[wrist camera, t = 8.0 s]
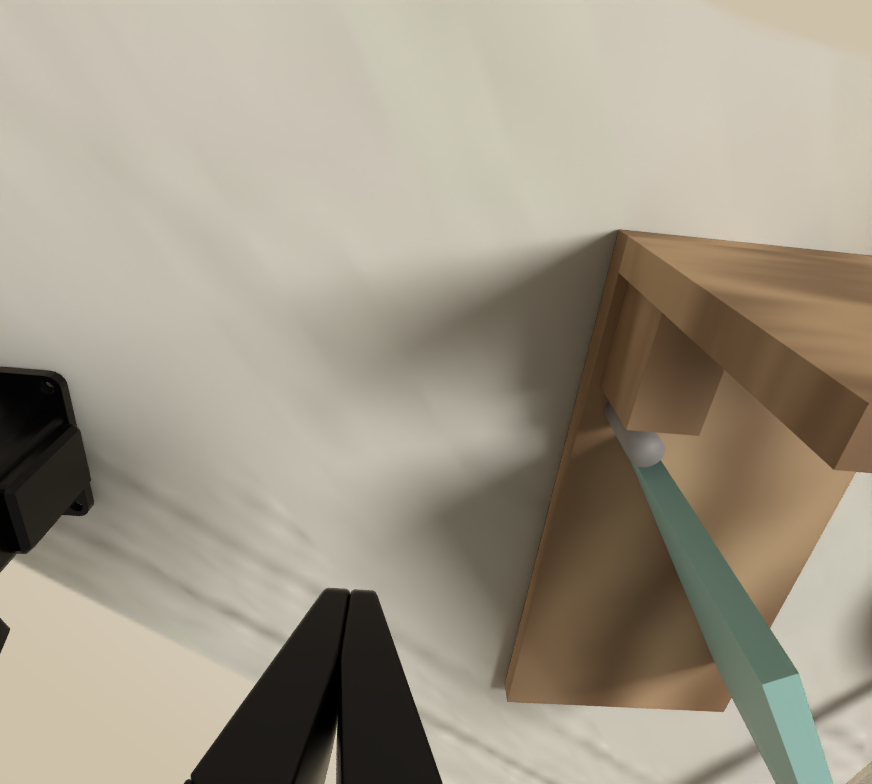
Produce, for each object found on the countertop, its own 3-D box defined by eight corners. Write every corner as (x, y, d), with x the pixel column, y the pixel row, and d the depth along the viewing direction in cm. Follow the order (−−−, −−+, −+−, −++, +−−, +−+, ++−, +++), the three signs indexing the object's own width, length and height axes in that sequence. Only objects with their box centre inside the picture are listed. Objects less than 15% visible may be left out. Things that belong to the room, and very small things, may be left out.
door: (709, 663, 28) (848, 939, 19) (600, 404, 21) (736, 644, 12) (736, 655, 28) (889, 930, 19) (633, 389, 21) (800, 624, 12)
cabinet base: (504, 683, 30) (549, 1007, 19) (618, 229, 19) (869, 403, 8) (714, 694, 31) (868, 1010, 20) (942, 263, 20) (1550, 461, 9)
